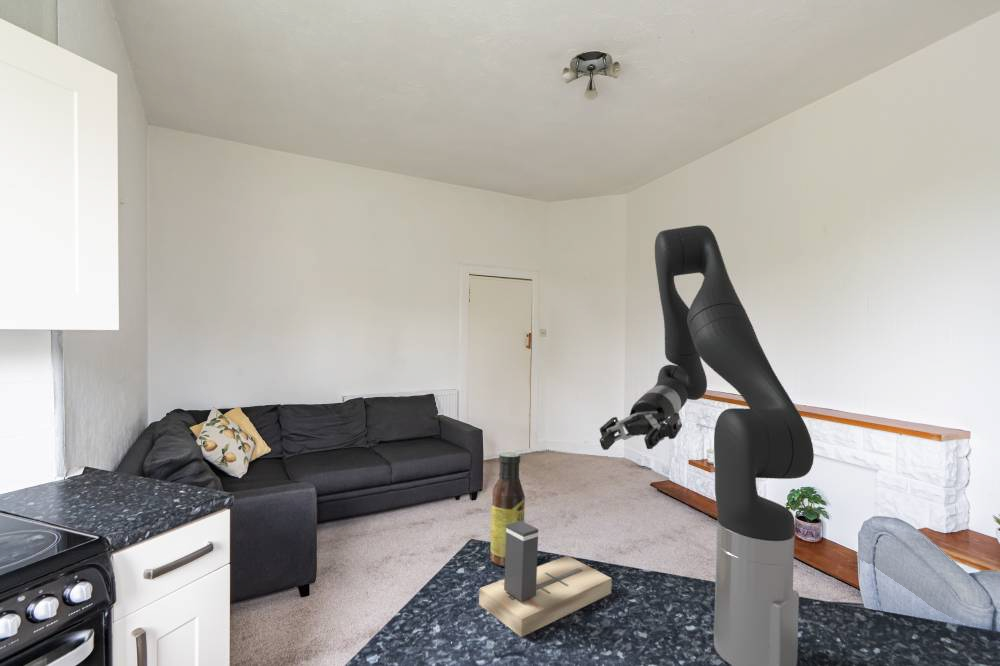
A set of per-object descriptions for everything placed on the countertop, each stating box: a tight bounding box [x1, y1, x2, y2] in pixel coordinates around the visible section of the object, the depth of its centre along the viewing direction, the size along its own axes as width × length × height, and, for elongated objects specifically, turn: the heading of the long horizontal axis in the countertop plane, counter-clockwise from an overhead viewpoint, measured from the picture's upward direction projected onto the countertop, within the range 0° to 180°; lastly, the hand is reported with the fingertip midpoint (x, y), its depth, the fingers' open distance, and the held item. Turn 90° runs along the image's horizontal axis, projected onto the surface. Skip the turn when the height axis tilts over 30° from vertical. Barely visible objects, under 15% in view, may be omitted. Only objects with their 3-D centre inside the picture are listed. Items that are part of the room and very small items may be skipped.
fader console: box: [478, 555, 613, 638], centre depth 75 cm, size 10×20×3 cm, turn 129°
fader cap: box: [504, 521, 539, 601], centre depth 72 cm, size 4×3×10 cm
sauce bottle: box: [489, 451, 526, 567], centre depth 88 cm, size 7×6×20 cm
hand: (624, 444), depth 82 cm, fingers open, 8 cm apart
